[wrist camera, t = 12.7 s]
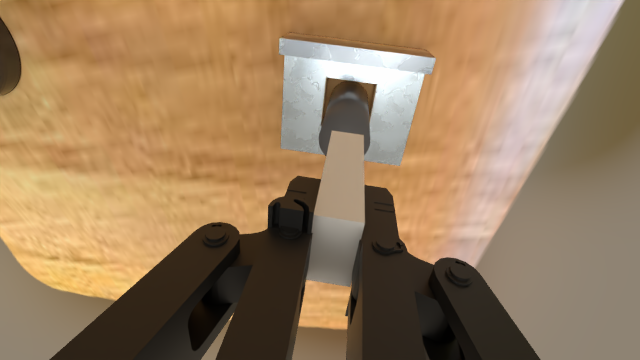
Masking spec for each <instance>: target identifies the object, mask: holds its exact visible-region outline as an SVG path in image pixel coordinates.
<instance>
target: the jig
mask: <svg viewBox="0 0 640 360" xmlns="http://www.w3.org/2000/svg"><path fill="white" fill-rule="evenodd" d="M279 54H280V55H285V59H284V83H283V106H282V129H281V149H288V150H295V151H302V152H309V153H315V154H322V155H324V154H323V152H322V151H321V149H320V146H319V133H320V130H321V127H322V123H323V120H324V119H323V112H324V104H325V95H326V86H327V78H334V79H342V80H349V81H357V82H364V83H371V84H375V89H374V94H373V99H372V104H371V110H370V115H369V124H370V146H369V149H368V151H367V152H366V154H365V155H364V161H370V162H377V163H384V164H391V165H398V166H400V164H401V160H402V157H403V153H404V149H405V145H406V142H407V138H408V134H409V131H410V127H411V123H412V119H413V116H414V112H415V108H416V105H417V101H418V97H419V94H420V90H421V86H422V82H423V79H424V75H425V74H432V70H433V67H434V63H435V60H436V58H435V57H434V56H433V55H432V54H430V53H429V52H428V51H427V50H424V49H416V48H408V47H400V46H392V45H385V44H377V43H369V42H361V41H354V40H346V39H338V38H330V37H323V36H315V35H307V34H299V33H292V32H290V33H288V34H286V35H284V36H282V37H280V39H279Z"/></svg>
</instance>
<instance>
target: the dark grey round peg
mask: <svg viewBox="0 0 640 360" xmlns="http://www.w3.org/2000/svg"><path fill="white" fill-rule="evenodd" d="M332 131H339V132H346V133H353V134H360V135H364V155H365V154H366V152H367V151H368V149H369V146H370V124H369V107H368V95H367V92H366V90H365V89H364V87H363V86H362V85H360V84H359V83H357V82H353V81H346V82H342V83H340V84H339V85H337V86H336V87H335V88H334V90H333V91H332V94H331V97H330V100H329V104H328V107H327V110H326V113H325V117H324V120H323V123H322V127H321V130H320V133H319V146H320V149H321V151H322V152H323V154H324V155H325V156H326V155H327V151H328V146H329V142H330V137H331V132H332Z"/></svg>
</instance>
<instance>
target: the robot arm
mask: <svg viewBox="0 0 640 360" xmlns="http://www.w3.org/2000/svg"><path fill="white" fill-rule="evenodd" d="M19 76H20V61H19V56H18V52H17V49H16V46H15V44H14V42H13V39H12V37H11V35H10V34H9V32H8V30H7V28H6V27H5V25H4V24H3V22H2V21H1V20H0V96H1V95H5V94H7V93H9V92H10V91H12V90H13V89H14V87H15V86H16V85H17V83H18V80H19ZM306 280H312V281H318V282H324V283H330V284H336V285H342V286H348V287H350V285H351V281H352V288H351V293H350V298H349V302H348V306H347V310H346V315H345V316H348V329H347V351H346V360H540V358H539V357H538V356H537V354H536V353H535V351H534V350H533V348H532V347H531V346H530V344H529V343H528V341H527V340H526V338H525V337H524V336H523V334H522V333H521V331H520V330H519V329H518V327H517V326H516V324H515V323H514V322H513V320H512V319H511V317H510V316H509V314H508V313H507V312H506V310H505V309H504V307H503V306H502V305H501V303H500V302H499V300H498V299H497V297H496V296H495V294H494V293H493V292H492V290H491V289H490V287H489V286H488V285H487V283H486V282H485V280H484V279H483V277H482V276H481V275H480V274H479V273H478V271H477V270H476V269H475V268H474V267H472V266H471V265H469V264H468V263H466V262H464V261H461V260H459V259H456V258H448V257H447V258H442V259H439V260H438V261H437V262H435V265H433V264H430V263H428V262H425V261H423V260H420V259H418V258H416V257H414V256H413V255H411V254H410V253H408V252H407V248H406V246H405V244H404V243H403V242H402V241H401V240H400V239H399V235H398V228H397V221H396V215H395V208H394V202H393V196H392V195H391V194H390V192H389V191H388V190H387V189H386V188H381V187H374V186H367V185H364V135H360V134H353V133H346V132H339V131H332V132H331V137H330V142H329V146H328V151H327V155H326V160H325V164H324V169H323V174H322V178H321V179H315V178H308V177H302V176H297V177H296V178H295V179H293V180H292V181H291V182H290V184H289V186H288V189H287V192H286V194H285V196H284V197H279V198H277V199H275V200H273V201H272V202H271V203H270V204H269V205H268V228H267V229H266V230H265V231H262V232H259V233H253V234H240V235H239V231H238V230H237V228H236V227H234V226H232V225H231V224H228V223H222V222H217V223H210V224H207V225H204V226H202V227H200V228H199V229H197V230H196V231H195V232H193V233H192V234H191V235H190V236H189V237H188V238H187V239H186V240H184V241H183V242H182V243H181V244H180V245H179V246H178V247H177V248H175V249H174V250H173V251H172V252H171V253H170V254H169V255H167V256H166V257H165V258H164V259H163V260H162V261H161V262H160V263H158V264H157V265H156V266H155V267H154V268H153V269H152V270H150V271H149V272H148V273H147V274H146V275H145V276H144V277H143V278H141V279H140V280H139V281H138V282H137V283H136V284H135V285H134V286H132V287H131V288H130V289H129V290H128V291H127V292H126V293H124V294H123V295H122V296H121V297H120V298H119V299H118V300H117V301H115V302H114V303H113V304H112V305H111V306H110V307H109V308H108V309H106V310H105V311H104V312H103V313H102V314H101V315H100V316H98V317H97V318H96V319H95V320H94V321H93V322H92V323H91V324H89V325H88V326H87V327H86V328H85V329H84V330H83V331H82V332H81V333H79V334H78V335H77V336H76V337H75V338H74V339H72V340H71V341H70V342H69V343H68V344H67V345H66V346H65V347H63V348H62V349H61V350H60V351H59V352H58V353H57V354H55V355H54V356H53V357H52V358H51V359H50V360H201V358H202V357H203V356H204V354H205V353H206V351H207V350H208V348H209V347H210V346H211V344H212V343H213V341H214V340H215V339H216V337H217V336H218V334H219V333H220V332H221V330H222V329H223V327H224V326H225V324H226V323H227V322H228V320H229V319H230V317H231V316H232V315H233V317H232V319H231V322H230V324H229V327H228V330H227V332H226V334H225V337H224V339H223V342H222V345H221V347H220V349H219V352H218V354H217V357H216V360H292V355H293V350H294V344H295V339H296V334H297V328H298V323H299V318H300V313H301V307H302V302H303V297H304V290H305V282H306ZM233 313H234V314H233Z"/></svg>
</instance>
